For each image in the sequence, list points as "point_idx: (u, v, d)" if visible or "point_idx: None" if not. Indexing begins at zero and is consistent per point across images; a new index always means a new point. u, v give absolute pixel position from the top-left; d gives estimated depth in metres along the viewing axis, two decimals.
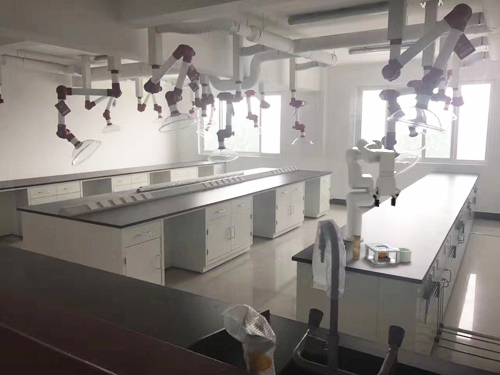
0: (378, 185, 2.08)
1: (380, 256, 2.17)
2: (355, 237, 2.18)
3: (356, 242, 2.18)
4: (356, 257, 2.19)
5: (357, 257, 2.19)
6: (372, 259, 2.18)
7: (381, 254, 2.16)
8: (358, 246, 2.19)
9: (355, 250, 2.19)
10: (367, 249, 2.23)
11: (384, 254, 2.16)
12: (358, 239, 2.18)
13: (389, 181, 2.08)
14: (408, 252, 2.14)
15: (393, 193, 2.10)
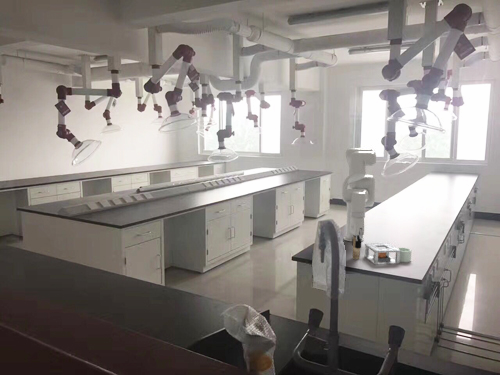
0: (362, 226, 2.14)
1: (380, 256, 2.17)
2: (355, 237, 2.18)
3: None
4: (356, 257, 2.19)
5: (357, 257, 2.19)
6: (372, 259, 2.18)
7: (381, 254, 2.16)
8: None
9: (355, 250, 2.19)
10: (367, 249, 2.23)
11: (384, 254, 2.16)
12: None
13: None
14: (408, 252, 2.14)
15: None
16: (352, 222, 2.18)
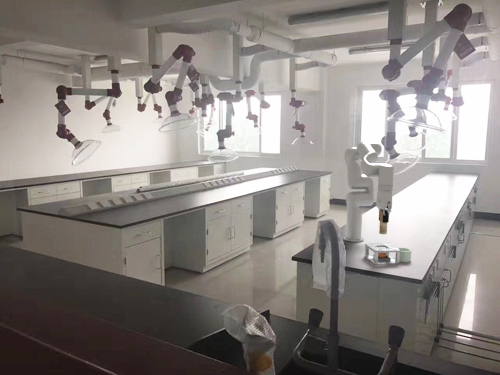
0: (390, 200, 2.09)
1: (380, 256, 2.17)
2: (382, 211, 2.14)
3: None
4: (383, 232, 2.15)
5: (384, 232, 2.15)
6: (372, 259, 2.18)
7: (381, 254, 2.16)
8: None
9: (382, 225, 2.14)
10: (367, 249, 2.23)
11: (384, 254, 2.16)
12: None
13: None
14: (408, 252, 2.14)
15: None
16: (379, 196, 2.14)
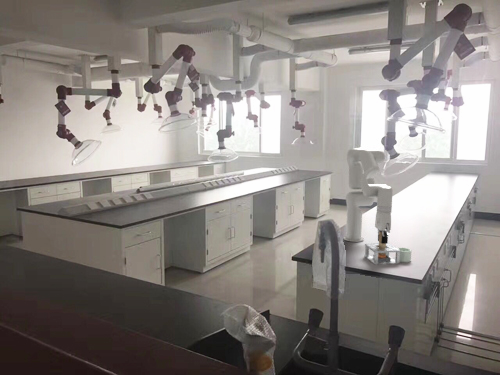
0: (389, 221, 2.11)
1: None
2: (381, 232, 2.15)
3: None
4: (382, 253, 2.16)
5: (383, 253, 2.16)
6: (372, 259, 2.18)
7: (381, 256, 2.16)
8: None
9: (381, 245, 2.16)
10: (367, 249, 2.23)
11: (384, 256, 2.16)
12: None
13: None
14: (408, 252, 2.14)
15: None
16: (378, 217, 2.15)
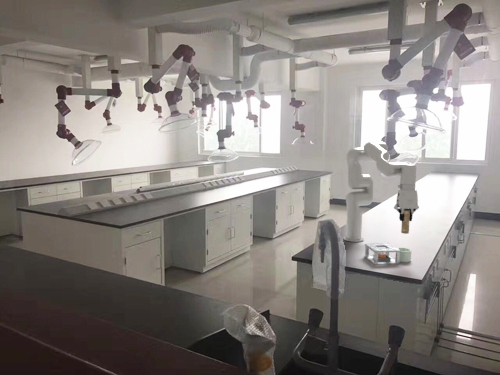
0: None
1: None
2: (409, 210, 2.13)
3: (409, 215, 2.14)
4: None
5: None
6: (372, 259, 2.18)
7: (381, 256, 2.16)
8: None
9: None
10: (367, 249, 2.23)
11: (384, 256, 2.16)
12: None
13: None
14: (408, 252, 2.14)
15: None
16: (409, 196, 2.10)
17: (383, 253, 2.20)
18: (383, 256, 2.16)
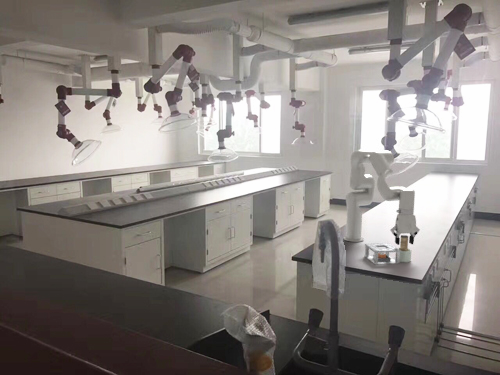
0: None
1: None
2: (407, 237, 2.15)
3: (407, 242, 2.16)
4: None
5: None
6: (372, 259, 2.18)
7: (381, 256, 2.16)
8: None
9: (407, 250, 2.16)
10: (367, 249, 2.23)
11: (384, 256, 2.16)
12: None
13: None
14: (408, 252, 2.14)
15: None
16: (407, 221, 2.12)
17: (383, 253, 2.20)
18: (383, 256, 2.16)
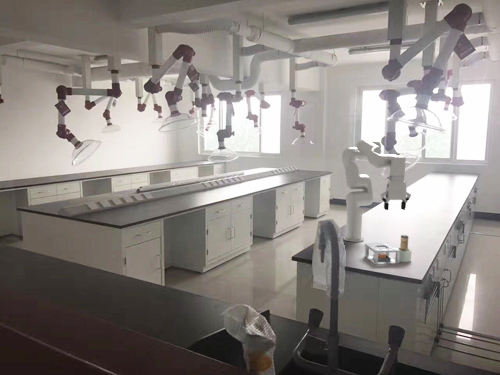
0: None
1: None
2: None
3: (407, 242, 2.16)
4: None
5: None
6: (372, 259, 2.18)
7: (381, 256, 2.16)
8: None
9: (407, 250, 2.16)
10: (367, 249, 2.23)
11: (384, 256, 2.16)
12: None
13: None
14: (408, 252, 2.14)
15: None
16: (398, 187, 2.14)
17: (383, 253, 2.20)
18: (383, 256, 2.16)
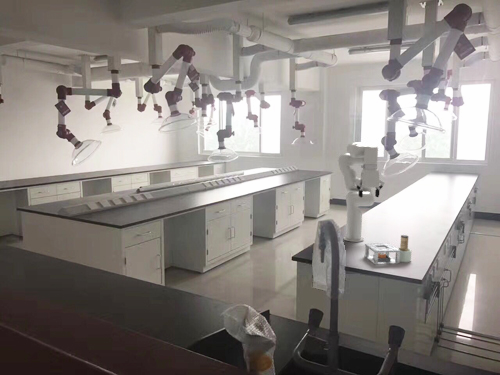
0: None
1: None
2: None
3: (407, 242, 2.16)
4: None
5: None
6: (372, 259, 2.18)
7: (381, 256, 2.16)
8: None
9: (407, 250, 2.16)
10: (367, 249, 2.23)
11: (384, 256, 2.16)
12: None
13: None
14: (408, 252, 2.14)
15: None
16: (371, 175, 2.25)
17: (383, 253, 2.20)
18: (383, 256, 2.16)
